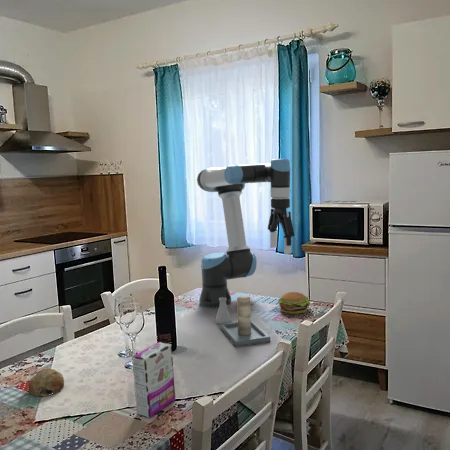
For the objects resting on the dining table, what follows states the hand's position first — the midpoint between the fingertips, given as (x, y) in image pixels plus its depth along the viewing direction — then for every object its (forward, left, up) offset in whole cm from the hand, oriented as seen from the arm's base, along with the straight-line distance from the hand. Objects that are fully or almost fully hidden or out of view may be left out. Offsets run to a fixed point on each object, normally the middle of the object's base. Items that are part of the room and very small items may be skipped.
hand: (280, 250), depth 189 cm
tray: (+9, -19, -30) cm, 37 cm away
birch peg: (+9, -19, -29) cm, 36 cm away
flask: (-9, -22, -30) cm, 39 cm away
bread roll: (+28, -89, -30) cm, 98 cm away
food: (-11, +11, -30) cm, 34 cm away
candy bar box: (+51, -60, -30) cm, 84 cm away
